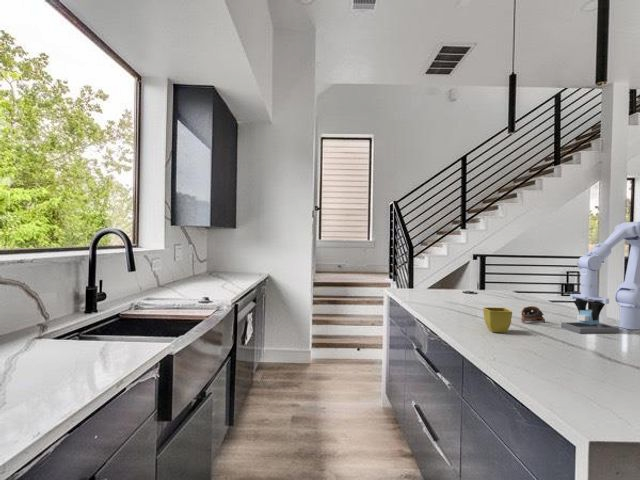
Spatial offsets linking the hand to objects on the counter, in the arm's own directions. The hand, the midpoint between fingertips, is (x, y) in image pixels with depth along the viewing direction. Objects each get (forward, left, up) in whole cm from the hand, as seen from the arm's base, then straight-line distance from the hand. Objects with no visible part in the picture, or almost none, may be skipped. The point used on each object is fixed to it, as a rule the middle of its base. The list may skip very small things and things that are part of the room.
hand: (588, 318), depth 164 cm
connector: (0, 0, -2) cm, 2 cm away
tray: (0, 0, -4) cm, 4 cm away
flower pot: (+38, 0, -5) cm, 38 cm away
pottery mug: (+14, -16, -5) cm, 22 cm away
